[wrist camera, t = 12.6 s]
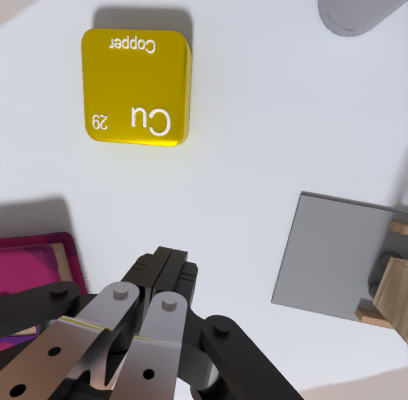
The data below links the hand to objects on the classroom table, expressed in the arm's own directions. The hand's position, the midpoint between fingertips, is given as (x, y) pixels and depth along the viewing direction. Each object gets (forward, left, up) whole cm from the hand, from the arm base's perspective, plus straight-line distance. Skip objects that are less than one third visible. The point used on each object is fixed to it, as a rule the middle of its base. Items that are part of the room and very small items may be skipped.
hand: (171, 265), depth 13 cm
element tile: (-6, -16, -30) cm, 34 cm away
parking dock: (0, +30, -29) cm, 42 cm away
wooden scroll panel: (-2, +35, -28) cm, 45 cm away
